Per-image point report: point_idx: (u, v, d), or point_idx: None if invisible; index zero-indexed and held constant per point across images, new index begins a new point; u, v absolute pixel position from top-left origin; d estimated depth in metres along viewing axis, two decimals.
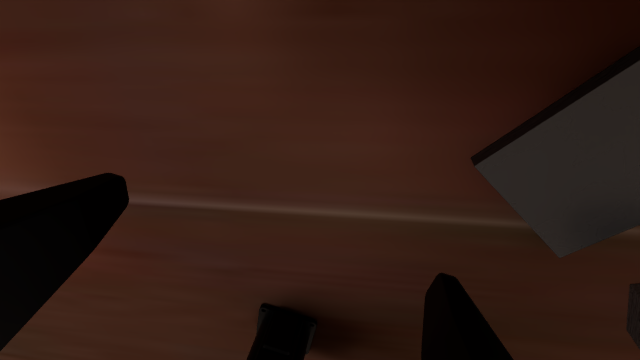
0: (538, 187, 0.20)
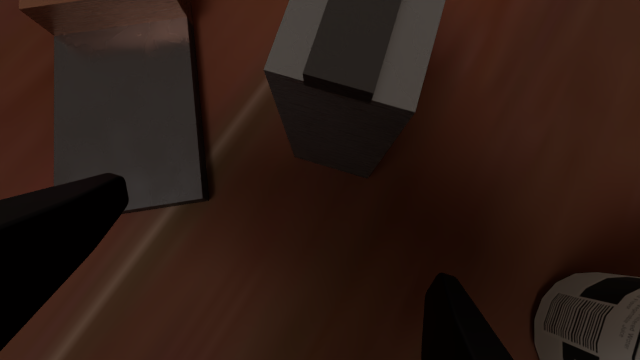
0: None
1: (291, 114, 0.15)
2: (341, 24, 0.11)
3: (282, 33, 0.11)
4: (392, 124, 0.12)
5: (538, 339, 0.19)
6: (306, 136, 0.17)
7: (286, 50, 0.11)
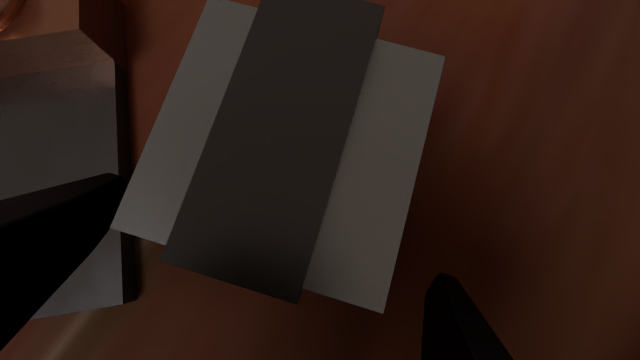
0: None
1: None
2: (241, 156, 0.06)
3: (149, 156, 0.06)
4: None
5: None
6: None
7: (154, 189, 0.06)
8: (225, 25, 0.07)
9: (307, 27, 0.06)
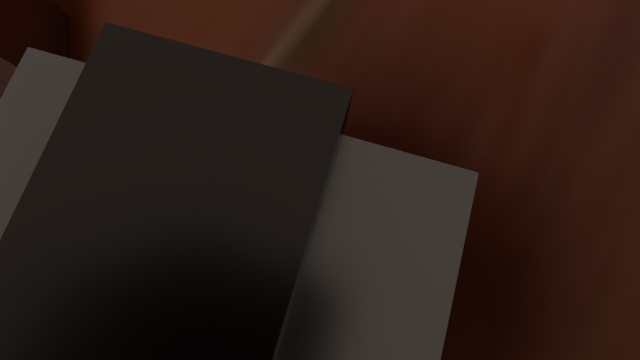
0: None
1: None
2: None
3: None
4: None
5: None
6: None
7: None
8: (51, 107, 0.04)
9: (176, 138, 0.03)
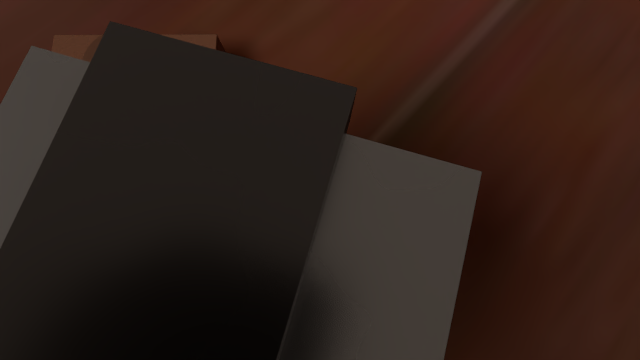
0: None
1: None
2: None
3: None
4: None
5: None
6: None
7: None
8: (54, 106, 0.04)
9: (180, 138, 0.03)
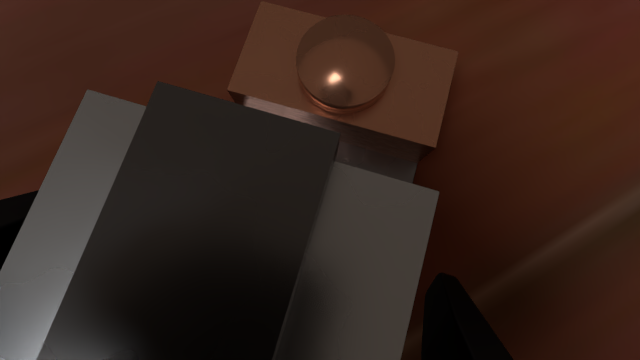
0: None
1: None
2: None
3: None
4: None
5: None
6: None
7: None
8: (107, 138, 0.05)
9: (212, 169, 0.04)
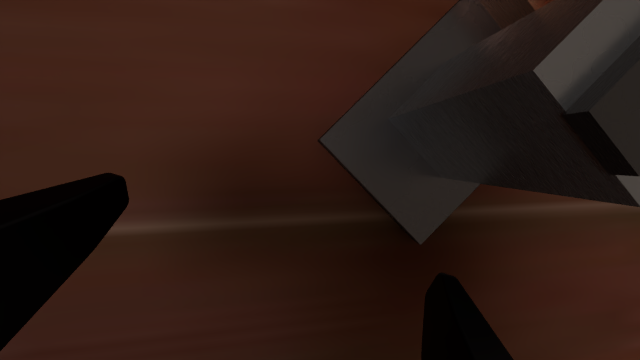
0: (380, 160, 0.21)
1: (470, 107, 0.12)
2: None
3: (574, 36, 0.09)
4: (584, 190, 0.11)
5: None
6: (446, 124, 0.15)
7: (567, 61, 0.09)
8: None
9: None
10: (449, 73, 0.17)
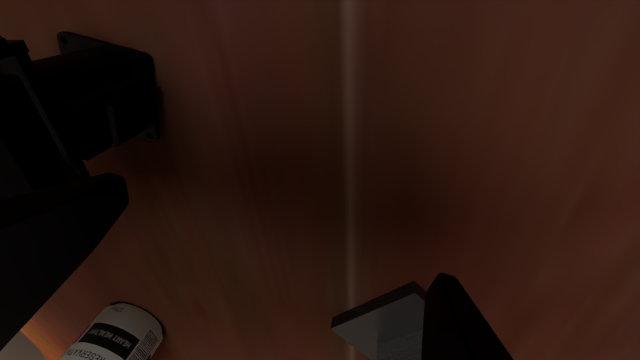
0: (393, 320, 0.28)
1: None
2: None
3: None
4: None
5: (148, 322, 0.38)
6: None
7: None
8: None
9: None
10: None
